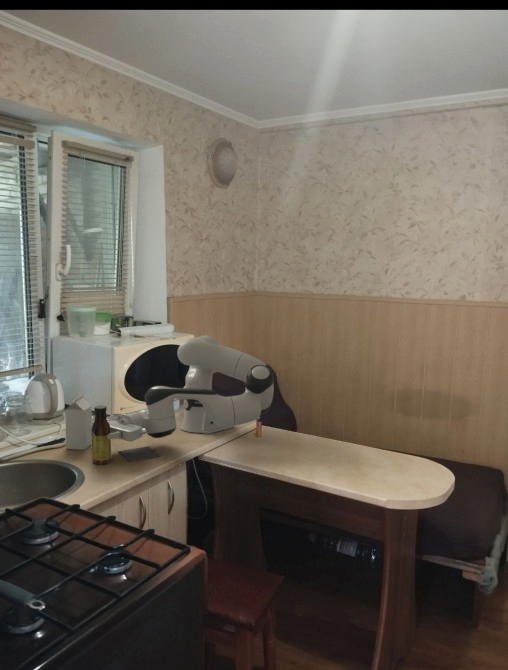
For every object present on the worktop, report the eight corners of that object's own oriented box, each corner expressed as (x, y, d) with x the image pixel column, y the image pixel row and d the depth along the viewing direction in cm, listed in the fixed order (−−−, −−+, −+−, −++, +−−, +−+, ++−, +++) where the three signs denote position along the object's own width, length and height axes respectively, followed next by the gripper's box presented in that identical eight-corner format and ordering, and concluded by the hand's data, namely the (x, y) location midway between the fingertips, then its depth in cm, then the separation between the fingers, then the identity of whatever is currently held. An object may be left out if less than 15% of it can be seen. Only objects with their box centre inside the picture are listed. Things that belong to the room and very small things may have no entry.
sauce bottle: (97, 458, 193) (96, 403, 190) (114, 459, 192) (113, 404, 189) (88, 464, 186) (87, 407, 184) (105, 466, 185) (105, 409, 183)
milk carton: (92, 444, 208) (91, 395, 205) (84, 450, 201) (83, 399, 198) (74, 443, 208) (73, 394, 206) (65, 449, 201) (65, 398, 199)
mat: (148, 447, 205) (148, 446, 205) (160, 456, 196) (160, 454, 196) (117, 452, 199) (117, 451, 199) (128, 462, 190) (128, 460, 190)
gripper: (150, 439, 193) (120, 449, 182) (110, 429, 204) (80, 438, 193) (150, 422, 193) (120, 431, 181) (110, 412, 204) (79, 420, 192)
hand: (99, 434), depth 187 cm, fingers closed on sauce bottle, 6 cm apart
